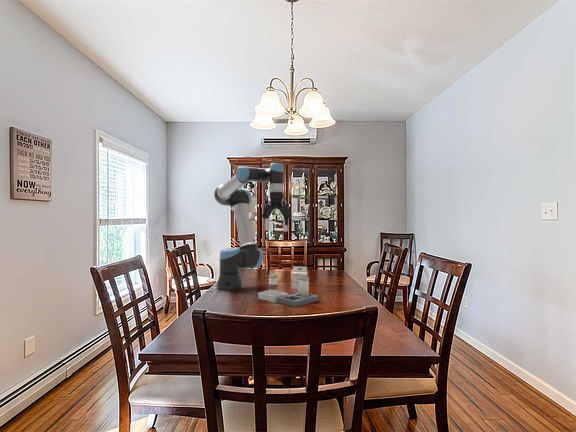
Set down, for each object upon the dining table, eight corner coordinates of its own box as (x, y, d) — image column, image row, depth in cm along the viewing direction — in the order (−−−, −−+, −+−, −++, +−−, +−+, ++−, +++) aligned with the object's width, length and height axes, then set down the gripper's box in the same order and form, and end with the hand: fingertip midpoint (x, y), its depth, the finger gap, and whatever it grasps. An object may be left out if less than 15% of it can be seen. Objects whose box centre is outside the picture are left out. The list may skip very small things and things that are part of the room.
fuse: (297, 300, 185) (297, 276, 185) (303, 298, 188) (303, 275, 188) (304, 301, 182) (305, 277, 182) (310, 300, 185) (310, 276, 185)
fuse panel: (277, 302, 179) (277, 297, 179) (300, 296, 192) (300, 291, 192) (295, 307, 171) (295, 301, 171) (318, 300, 184) (318, 295, 184)
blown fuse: (266, 297, 186) (266, 274, 186) (273, 296, 190) (273, 273, 190) (273, 299, 183) (273, 275, 183) (279, 297, 187) (279, 274, 187)
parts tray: (257, 298, 187) (258, 292, 187) (271, 295, 194) (271, 289, 194) (274, 302, 179) (274, 296, 179) (288, 299, 186) (288, 293, 186)
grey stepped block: (291, 294, 199) (291, 267, 199) (292, 292, 204) (292, 266, 204) (307, 294, 198) (307, 267, 198) (307, 292, 203) (307, 266, 203)
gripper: (255, 192, 202) (255, 230, 202) (288, 190, 185) (288, 232, 185) (265, 192, 208) (265, 229, 208) (298, 191, 191) (298, 231, 191)
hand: (276, 230), depth 197 cm, fingers open, 13 cm apart
